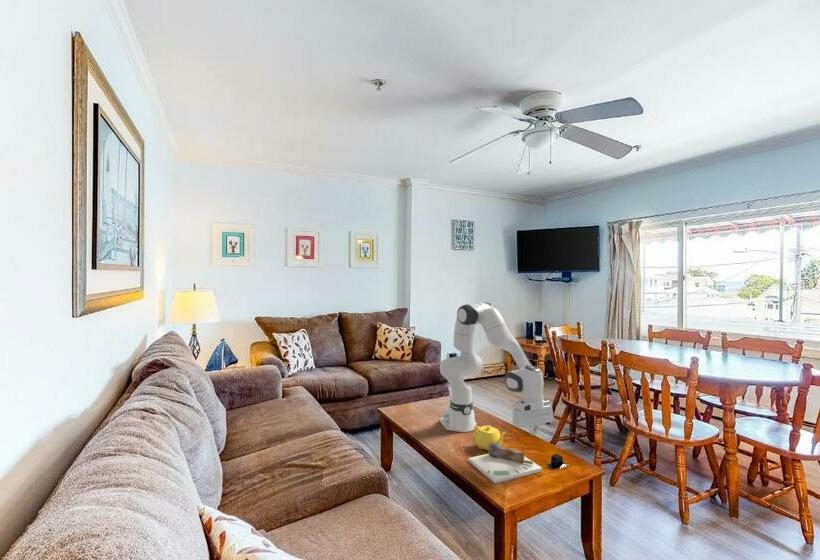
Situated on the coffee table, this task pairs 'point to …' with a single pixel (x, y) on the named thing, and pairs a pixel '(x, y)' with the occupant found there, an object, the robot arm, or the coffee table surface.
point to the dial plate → (503, 467)
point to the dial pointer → (507, 453)
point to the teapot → (487, 436)
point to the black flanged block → (556, 462)
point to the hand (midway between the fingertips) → (533, 434)
